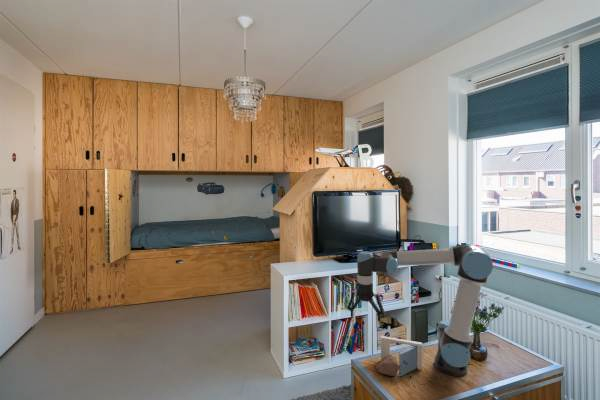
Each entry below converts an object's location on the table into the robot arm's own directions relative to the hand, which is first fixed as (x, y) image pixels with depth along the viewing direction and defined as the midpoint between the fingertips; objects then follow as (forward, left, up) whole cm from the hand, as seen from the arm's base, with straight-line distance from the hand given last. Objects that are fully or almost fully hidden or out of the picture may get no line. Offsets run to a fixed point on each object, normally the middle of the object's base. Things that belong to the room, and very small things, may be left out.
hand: (365, 325), depth 157 cm
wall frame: (-16, -8, -22) cm, 28 cm away
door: (-21, -3, -22) cm, 30 cm away
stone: (-11, 0, -22) cm, 25 cm away
